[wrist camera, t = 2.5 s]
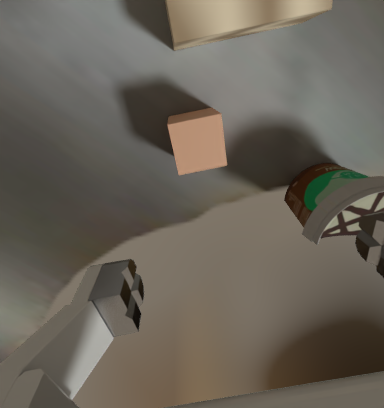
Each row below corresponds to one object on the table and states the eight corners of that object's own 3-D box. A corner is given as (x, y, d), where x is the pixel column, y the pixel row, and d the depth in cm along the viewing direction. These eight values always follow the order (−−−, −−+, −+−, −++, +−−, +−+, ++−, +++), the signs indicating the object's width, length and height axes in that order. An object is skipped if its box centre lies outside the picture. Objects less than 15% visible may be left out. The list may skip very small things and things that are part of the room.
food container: (370, 149, 30) (454, 177, 21) (358, 191, 33) (427, 231, 24) (278, 159, 29) (322, 192, 21) (274, 201, 32) (312, 245, 23)
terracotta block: (177, 158, 28) (178, 175, 23) (168, 116, 26) (167, 124, 21) (217, 150, 28) (227, 165, 23) (211, 107, 26) (221, 113, 21)
